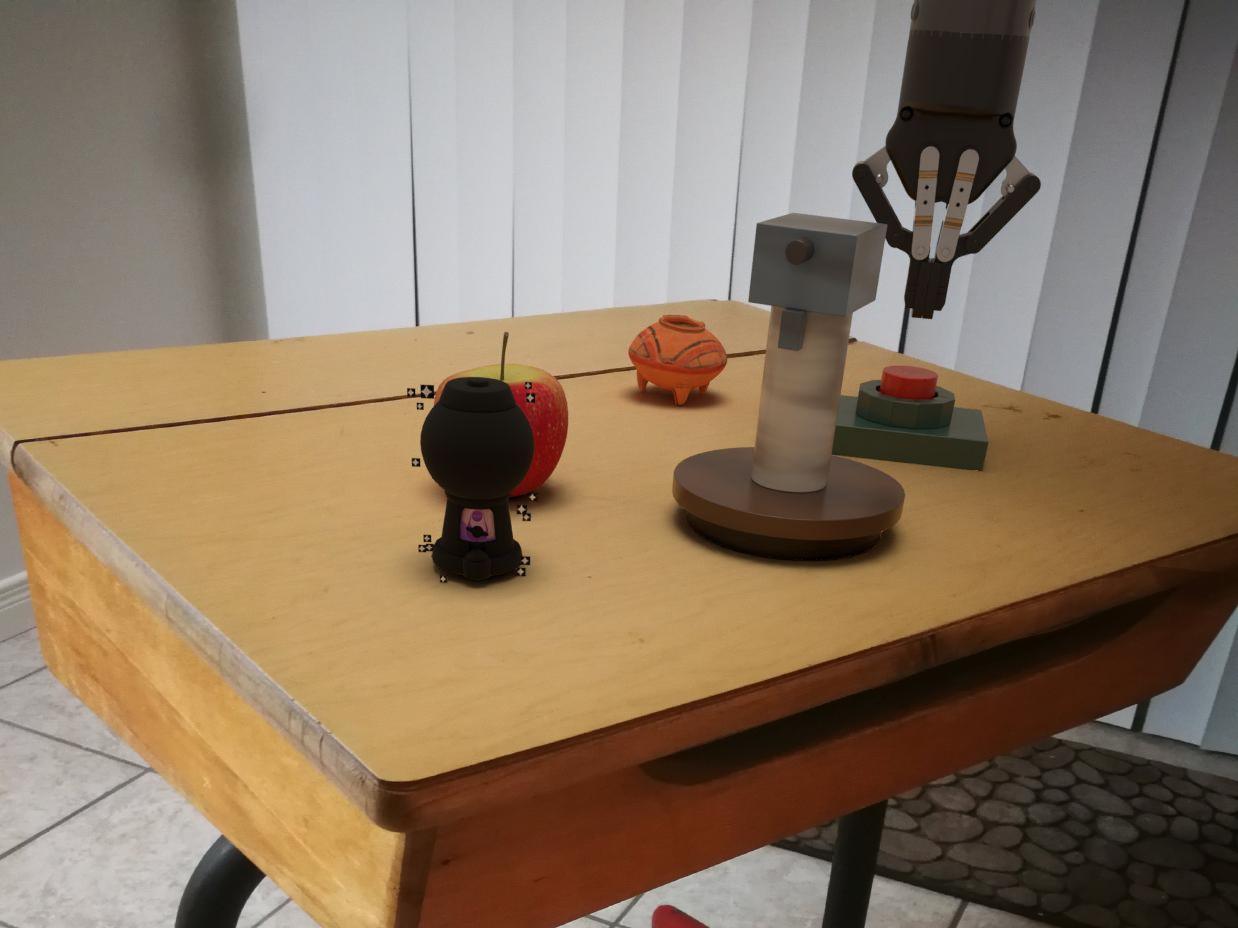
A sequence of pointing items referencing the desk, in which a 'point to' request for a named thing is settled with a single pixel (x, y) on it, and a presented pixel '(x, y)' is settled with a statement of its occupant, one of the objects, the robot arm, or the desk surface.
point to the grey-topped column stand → (800, 394)
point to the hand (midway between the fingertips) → (921, 316)
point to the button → (908, 382)
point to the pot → (677, 356)
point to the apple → (531, 413)
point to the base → (781, 543)
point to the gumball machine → (477, 473)
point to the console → (910, 429)
